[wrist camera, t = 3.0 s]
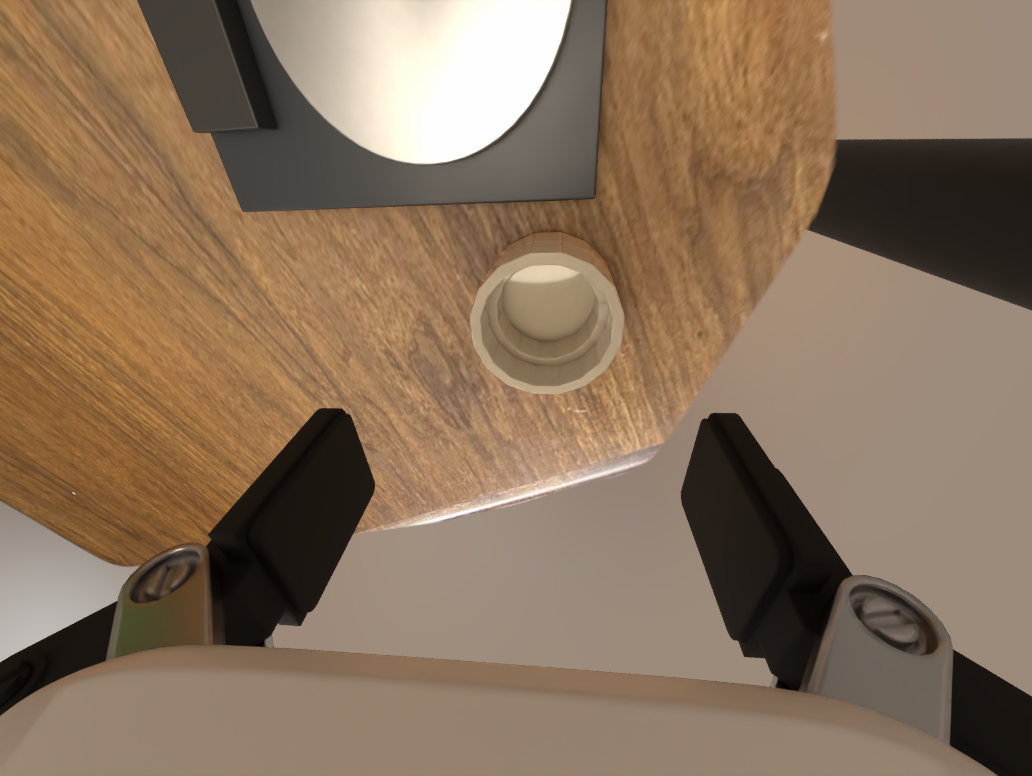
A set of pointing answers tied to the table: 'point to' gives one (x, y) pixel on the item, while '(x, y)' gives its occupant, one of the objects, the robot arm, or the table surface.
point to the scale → (391, 97)
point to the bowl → (547, 315)
